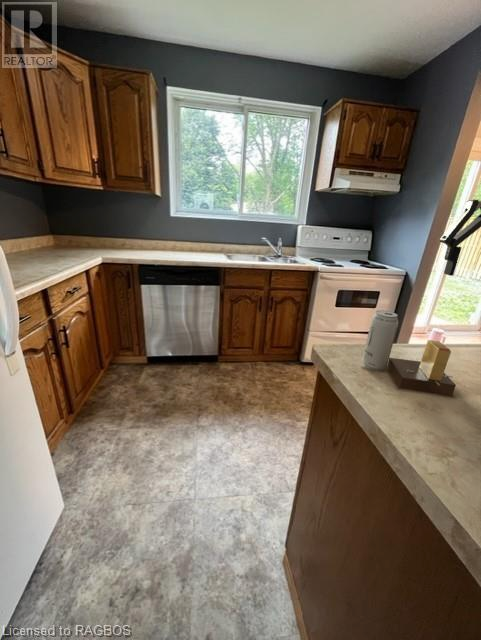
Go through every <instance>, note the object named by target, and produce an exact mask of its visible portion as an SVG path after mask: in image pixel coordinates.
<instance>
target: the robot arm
mask: <svg viewBox="0 0 481 640" xmlns="http://www.w3.org/2000/svg"><path fill="white" fill-rule="evenodd" d="M479 210H480V211H481V201H480V200H479V199H469V200H467V201H466V202H465V204H464V207H463V210H462V211H461V213H459V215H458V216H457V217H456V219H455V220H454V221H453V222H452V224H451V225H450V226H449V228H447V229H446V231H445V232H444V234H443V235H441V237H440V238H439V243H442V244H444V245H445V246H446V251H445V254H444V260H445V261H446V264H445V268H444V271H443V274H444V275H447V276H449V277H451V276H454V275H455V272H456V268H457V264H458V261H459V258H460V254H461V251H462V246H459V245H460V244H462V243H463V242H464V241H465V240H467V239H468V238H470V236H472V235H473V234H474V233H475V232H476V231H478V230H479V229H481V213H479V214H478V215H477V216H476V217H475V218H473V221H471V222H470V223H469V224H467V222H468V221H469V220H470V219H471V218H472V216H474V214H475V213H476V212H477V211H479ZM466 224H467V225H466ZM465 225H466V226H465ZM464 226H465V227H464ZM463 227H464V228H463Z"/></svg>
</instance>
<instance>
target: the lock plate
mask: <svg viewBox="0 0 481 640" xmlns="http://www.w3.org/2000/svg"><path fill="white" fill-rule="evenodd" d="M420 363H421V360H420V361H419V360H418V361H417V360H411V359H402V358H395V357H389V360H388V364H387V367H386V369H387V370H388V372H389V374H390V376H391V377H392V379H393V380H394V382H395V384H396V385H397V387H398V389H400V390H406V391H413V392H420V393H426V394H435V395H441V396H448V397H452V396H453V394H454V392H455V389H456V387H457V384H456V383H455V382H454V381H453V380H452V379H451V378H454V377H453V376H452V375H447V374H446V373H445V372H444V373H443V376H442V379H441V381H437V380H430V379H428V378H427V376H426V375H425V374H424V373H423V372H422V370H421V369H420V368H419V367H420Z"/></svg>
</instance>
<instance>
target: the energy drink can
mask: <svg viewBox="0 0 481 640" xmlns="http://www.w3.org/2000/svg"><path fill="white" fill-rule="evenodd" d="M398 327H399V320H398V314H397V313H395V312H393V311H388V310H376V311H375V313H374V314H373V316H372V317H371V320H370V323H369V329H368V334H367V338H366V341H365V347H364V351H363V355H362V360H361V361H362V364H363V366H364V368H366V369H368V370H370V371H374V372H382V371H384V370H385V369H387V365H388V361H389V358H391V357H390V356H391V353H392V349H393V345H394V342H395V338H396V334H397V330H398Z"/></svg>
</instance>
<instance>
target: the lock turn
mask: <svg viewBox="0 0 481 640" xmlns="http://www.w3.org/2000/svg"><path fill="white" fill-rule="evenodd" d="M451 354H452V351H451V349H450V348H449V347H447V346H446V345H444V344H443V343H442V342H441V341H439V340H432V339H427V341H426V345H425V348H424V350H423V354H422V357H421V360H420V362H421V363H420V367H419V368H420V369H421V370H422V372H423V373H424V374H425V375H426V376H427V378H428V379H430V380H437V381H441V379H442V376H443V373H445V370H446V367H447V365H448V362H449V359H450V356H451Z"/></svg>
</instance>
